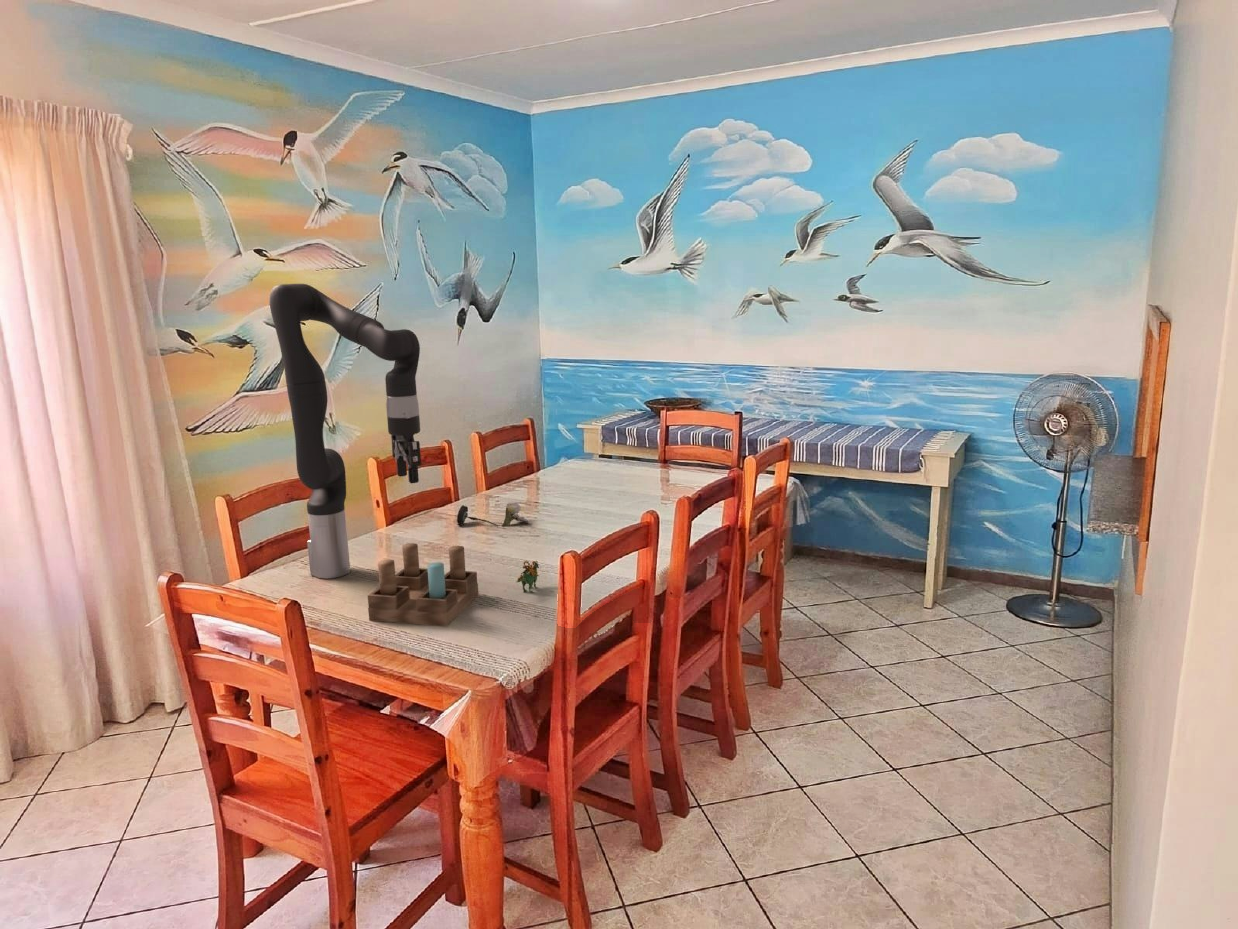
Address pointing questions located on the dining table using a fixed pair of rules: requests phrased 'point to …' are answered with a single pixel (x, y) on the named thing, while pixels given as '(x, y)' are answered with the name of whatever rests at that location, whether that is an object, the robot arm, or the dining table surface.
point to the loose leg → (436, 580)
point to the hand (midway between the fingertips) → (408, 479)
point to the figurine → (529, 575)
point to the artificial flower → (511, 514)
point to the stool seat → (421, 591)
